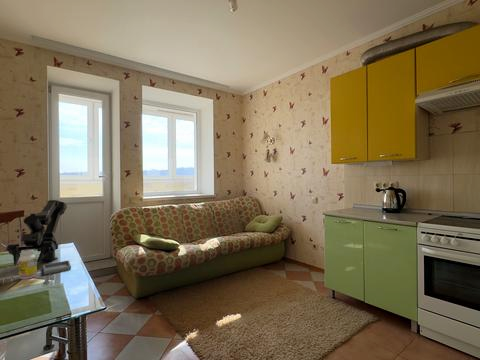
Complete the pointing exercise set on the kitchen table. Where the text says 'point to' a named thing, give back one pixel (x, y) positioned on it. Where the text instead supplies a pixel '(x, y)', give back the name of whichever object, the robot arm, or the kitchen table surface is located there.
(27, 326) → the kitchen table surface
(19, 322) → the kitchen table surface
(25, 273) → the supplement bottle
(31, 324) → the kitchen table surface
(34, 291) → the kitchen table surface
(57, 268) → the tray
